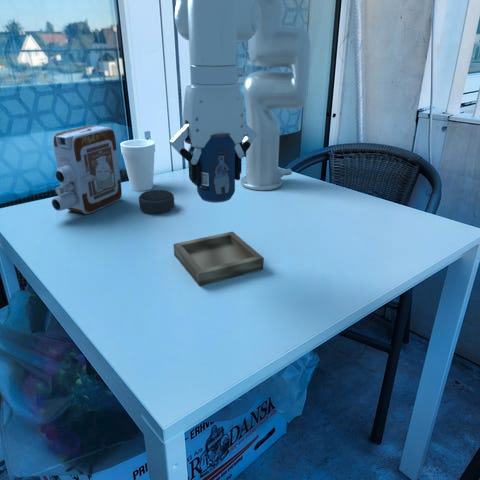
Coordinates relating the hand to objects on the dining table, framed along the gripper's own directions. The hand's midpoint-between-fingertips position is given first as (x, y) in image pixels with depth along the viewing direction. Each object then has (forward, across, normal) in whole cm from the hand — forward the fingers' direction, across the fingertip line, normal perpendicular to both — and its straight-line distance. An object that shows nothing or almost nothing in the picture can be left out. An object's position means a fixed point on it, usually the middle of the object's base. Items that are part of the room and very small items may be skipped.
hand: (215, 180), depth 78 cm
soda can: (+3, 0, 0) cm, 3 cm away
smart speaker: (+17, +2, -33) cm, 37 cm away
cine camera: (+17, +18, -41) cm, 48 cm away
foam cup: (+17, +1, -51) cm, 54 cm away
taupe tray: (+17, 0, 0) cm, 17 cm away
